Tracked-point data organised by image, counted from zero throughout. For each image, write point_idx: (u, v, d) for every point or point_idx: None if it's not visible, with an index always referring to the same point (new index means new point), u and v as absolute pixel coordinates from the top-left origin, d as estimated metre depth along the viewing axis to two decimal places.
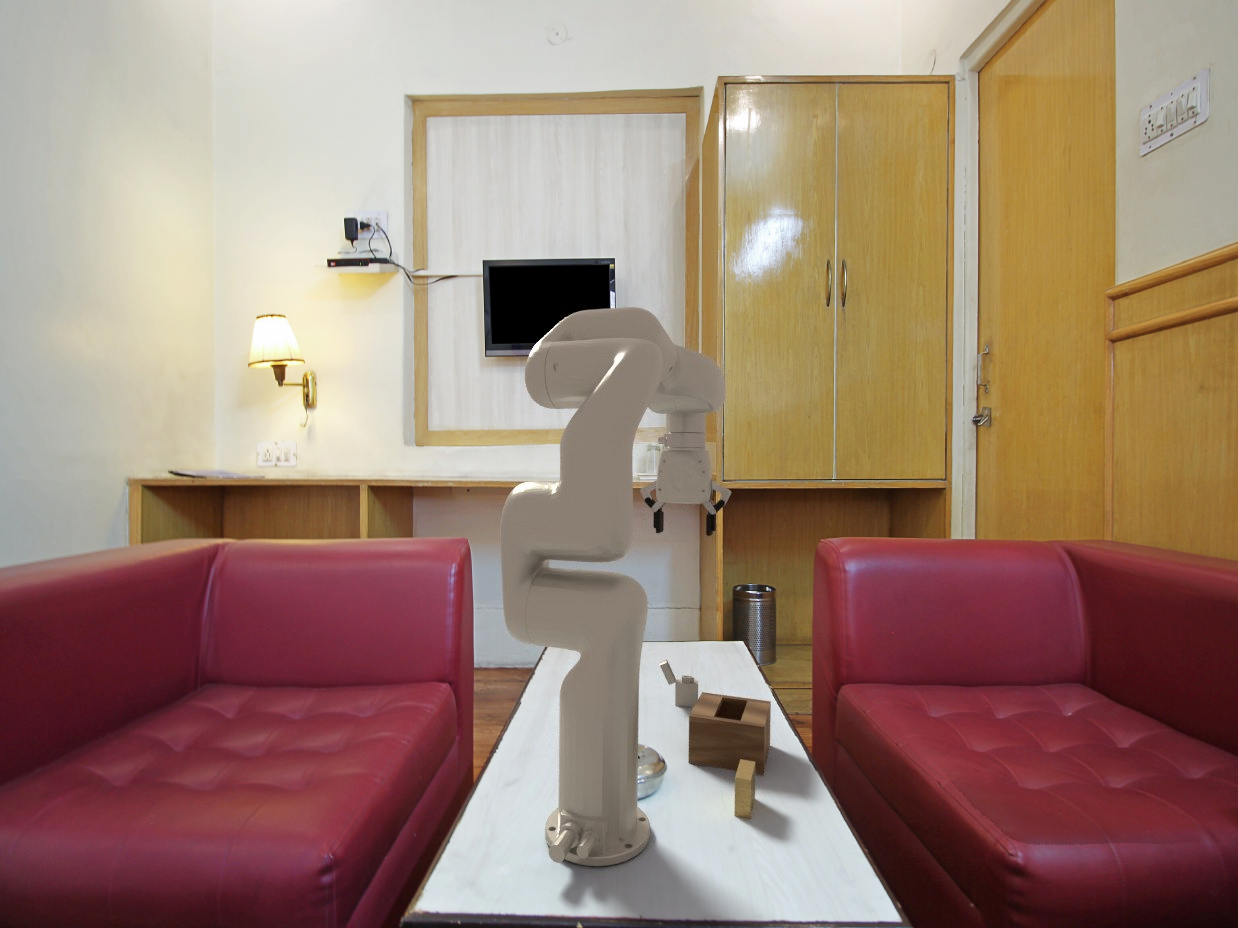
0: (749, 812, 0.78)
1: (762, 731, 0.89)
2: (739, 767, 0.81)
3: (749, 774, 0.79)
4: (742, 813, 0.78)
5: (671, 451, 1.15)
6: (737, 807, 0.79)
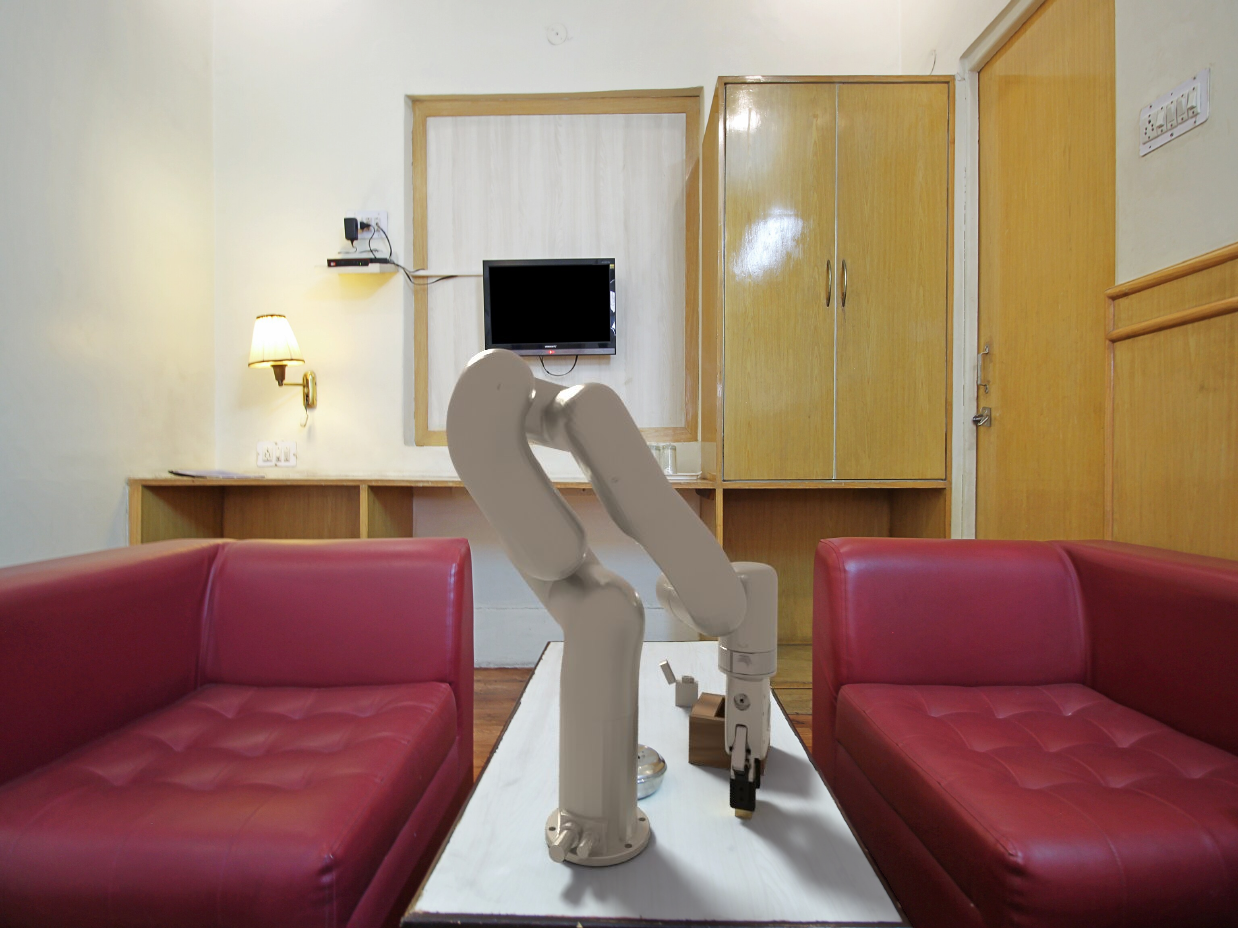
0: (749, 812, 0.78)
1: None
2: None
3: None
4: (742, 813, 0.78)
5: (765, 678, 0.78)
6: None
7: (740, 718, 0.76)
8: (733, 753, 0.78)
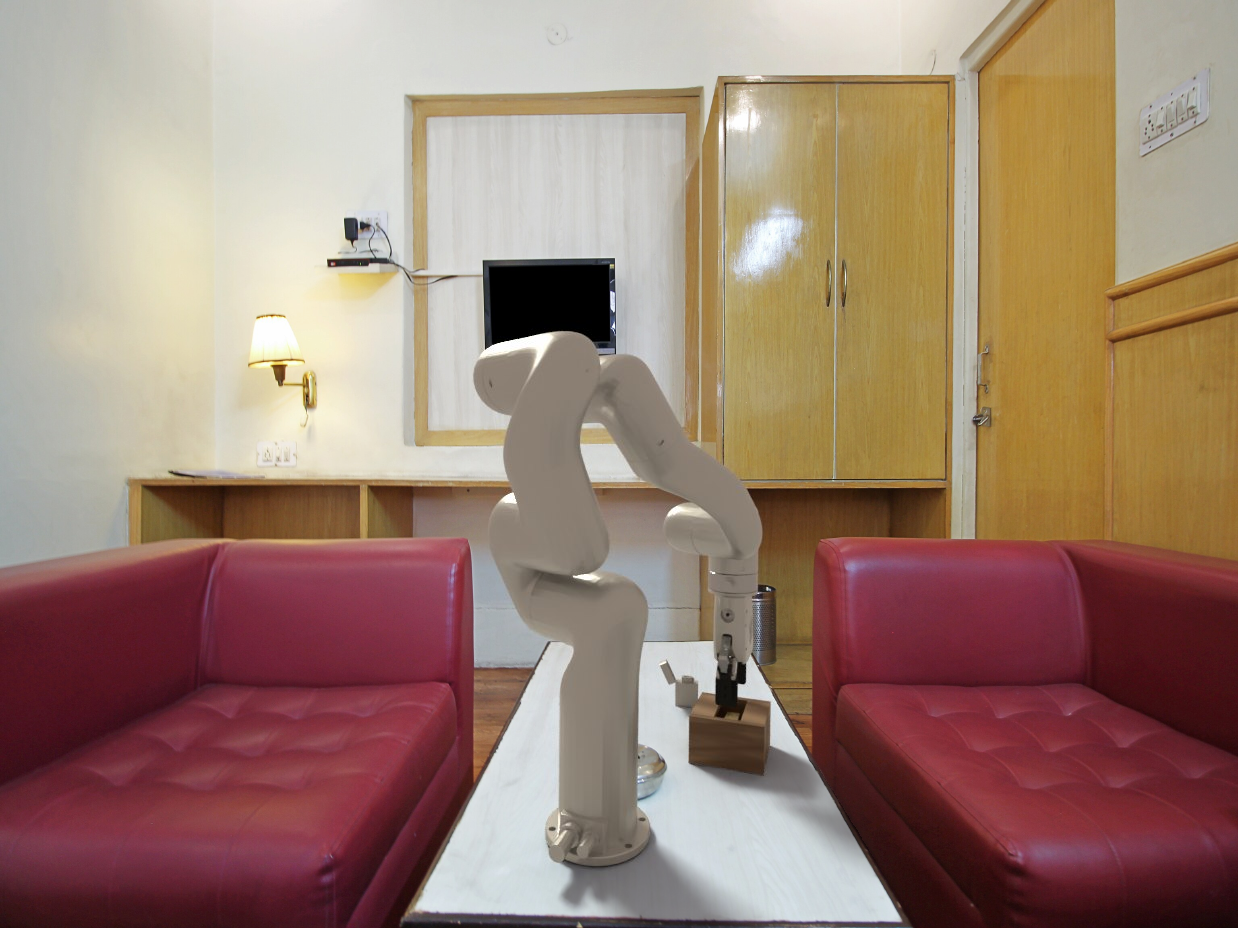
0: None
1: (762, 731, 0.89)
2: (726, 717, 0.96)
3: None
4: None
5: (747, 597, 0.92)
6: None
7: (726, 629, 0.90)
8: None
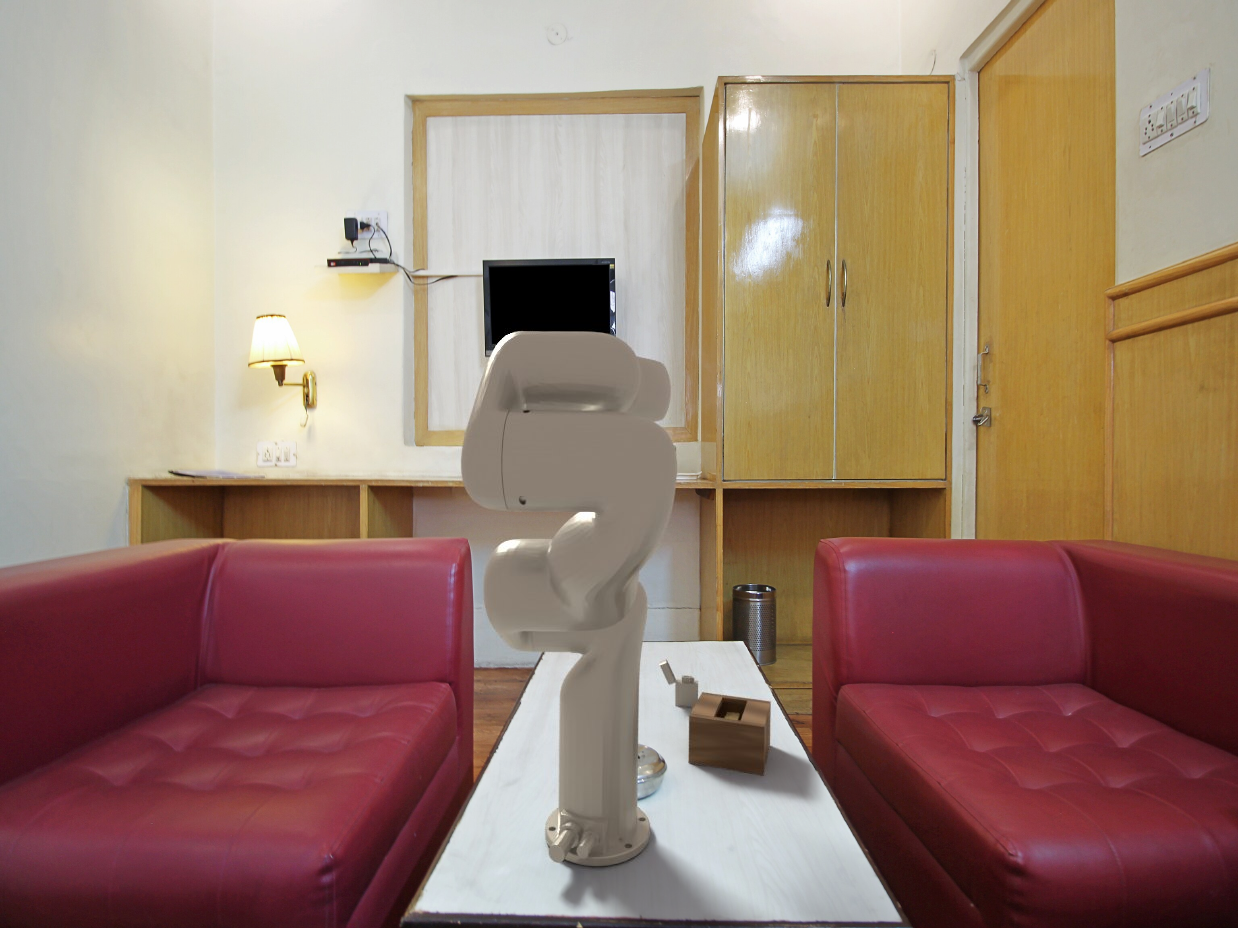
0: None
1: (762, 731, 0.89)
2: (726, 717, 0.96)
3: None
4: None
5: None
6: None
7: None
8: None
